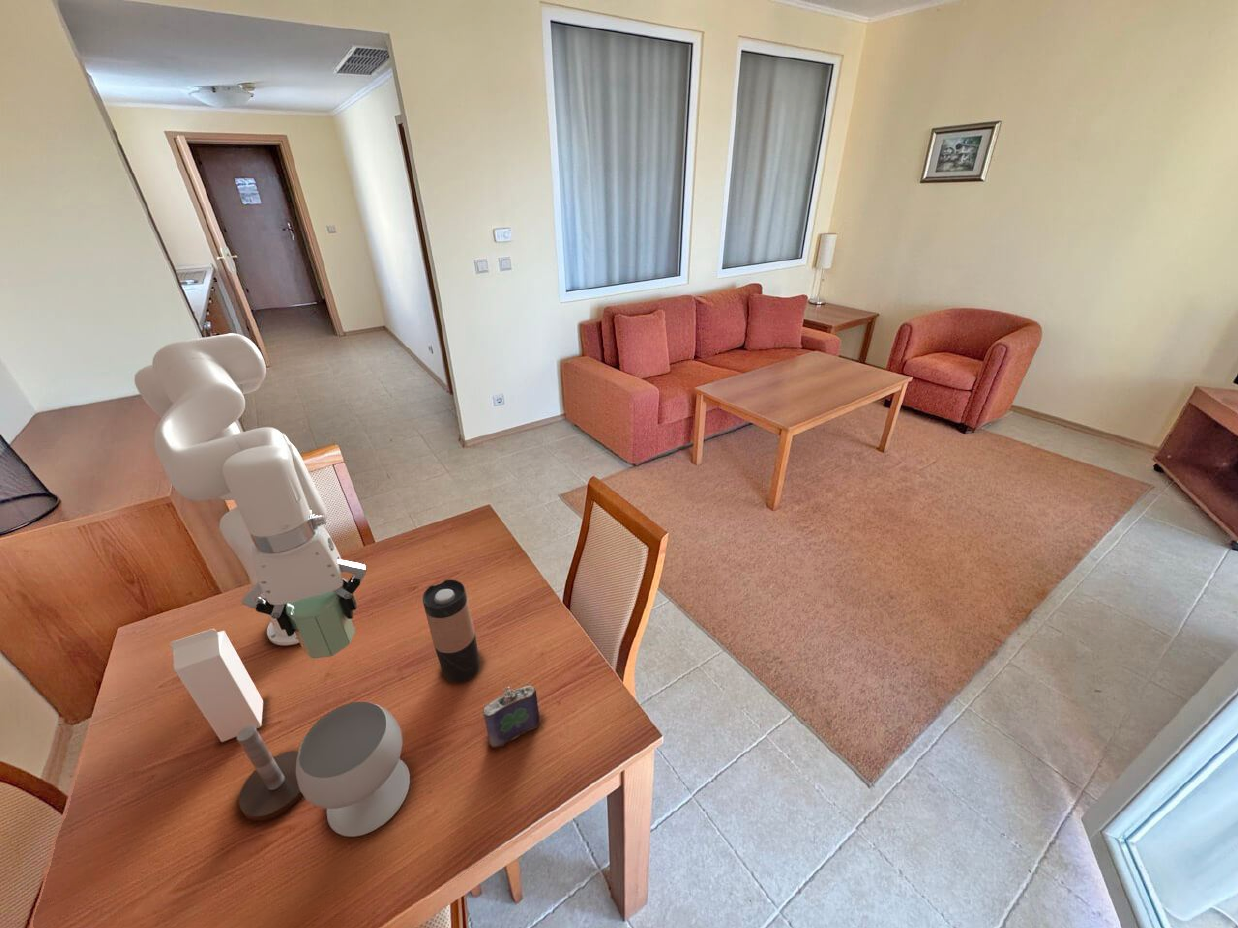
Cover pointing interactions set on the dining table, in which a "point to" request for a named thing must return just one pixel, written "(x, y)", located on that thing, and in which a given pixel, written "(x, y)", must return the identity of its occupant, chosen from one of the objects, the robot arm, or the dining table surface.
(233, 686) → the milk
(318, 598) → the green cup
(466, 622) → the travel mug
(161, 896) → the dining table surface
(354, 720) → the chalice
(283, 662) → the dining table surface
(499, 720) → the flask
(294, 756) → the towel holder
